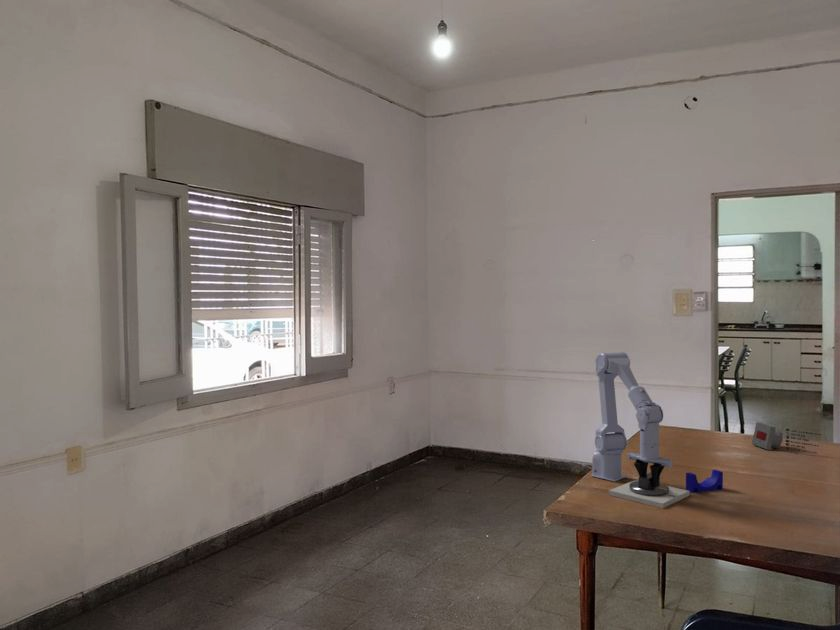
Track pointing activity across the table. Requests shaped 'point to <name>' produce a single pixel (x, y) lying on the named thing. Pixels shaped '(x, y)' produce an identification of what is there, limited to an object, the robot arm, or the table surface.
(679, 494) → the dial panel
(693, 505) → the table surface
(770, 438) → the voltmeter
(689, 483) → the blue cradle block
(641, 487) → the dial
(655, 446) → the robot arm
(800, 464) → the table surface
